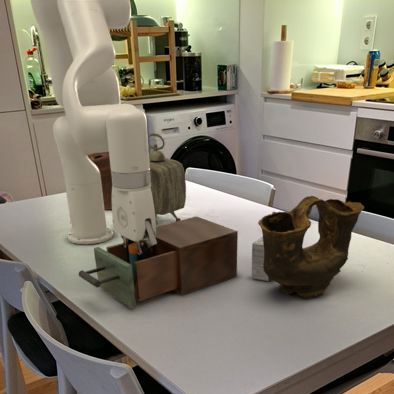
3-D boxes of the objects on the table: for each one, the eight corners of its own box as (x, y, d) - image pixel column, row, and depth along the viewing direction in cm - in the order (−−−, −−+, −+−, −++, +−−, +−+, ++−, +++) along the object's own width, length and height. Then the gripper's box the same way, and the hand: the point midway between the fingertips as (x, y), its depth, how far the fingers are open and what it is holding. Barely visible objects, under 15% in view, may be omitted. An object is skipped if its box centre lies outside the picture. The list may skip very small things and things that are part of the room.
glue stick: (128, 276, 110) (125, 245, 106) (142, 271, 112) (139, 241, 108) (137, 281, 108) (134, 249, 104) (151, 276, 109) (149, 245, 106)
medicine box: (268, 282, 114) (270, 245, 110) (250, 278, 117) (251, 242, 112) (282, 270, 120) (285, 234, 116) (265, 266, 122) (267, 231, 118)
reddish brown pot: (87, 197, 180) (80, 143, 171) (142, 198, 177) (138, 143, 168) (69, 211, 165) (60, 153, 156) (129, 213, 162) (124, 153, 153)
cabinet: (181, 295, 110) (180, 247, 104) (144, 275, 120) (141, 230, 114) (236, 276, 118) (237, 231, 112) (197, 258, 128) (196, 216, 122)
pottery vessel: (329, 267, 121) (339, 182, 110) (364, 283, 113) (379, 192, 103) (244, 293, 110) (247, 201, 99) (277, 312, 102) (284, 214, 91)
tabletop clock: (187, 223, 152) (184, 133, 139) (166, 231, 146) (161, 138, 133) (152, 214, 160) (146, 129, 147) (131, 222, 154) (123, 133, 141)
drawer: (106, 316, 100) (100, 274, 96) (75, 293, 109) (68, 254, 105) (188, 288, 111) (187, 249, 106) (153, 269, 120) (151, 232, 115)
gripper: (93, 175, 103) (104, 260, 112) (137, 190, 91) (145, 284, 101) (125, 169, 107) (133, 252, 116) (171, 183, 95) (176, 274, 105)
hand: (138, 266), depth 109 cm, fingers closed on glue stick, 3 cm apart
